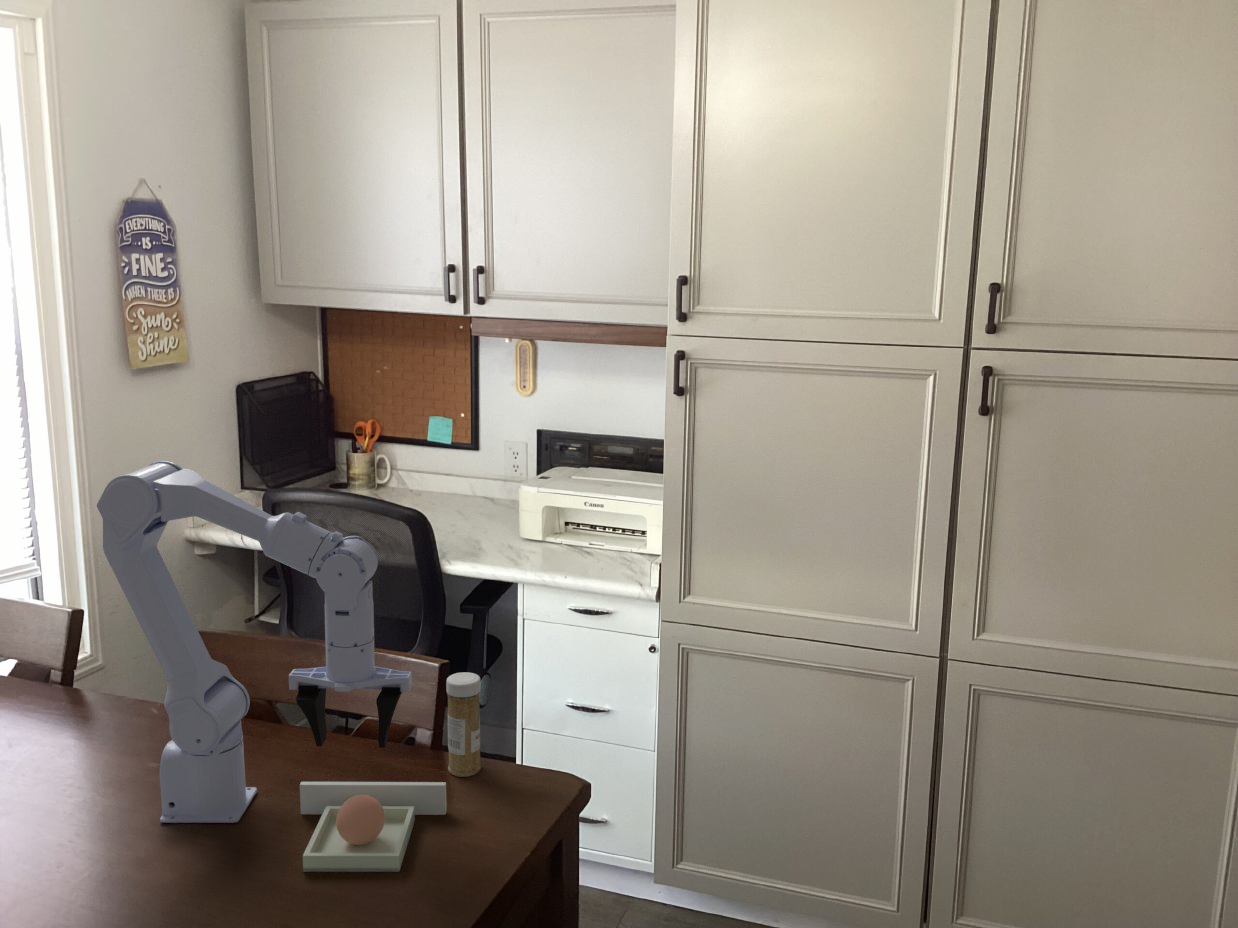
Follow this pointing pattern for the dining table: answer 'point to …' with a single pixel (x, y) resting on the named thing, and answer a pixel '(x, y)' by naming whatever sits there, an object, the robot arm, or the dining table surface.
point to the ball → (360, 819)
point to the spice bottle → (463, 723)
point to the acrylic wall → (375, 795)
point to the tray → (375, 856)
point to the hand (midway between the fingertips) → (352, 743)
